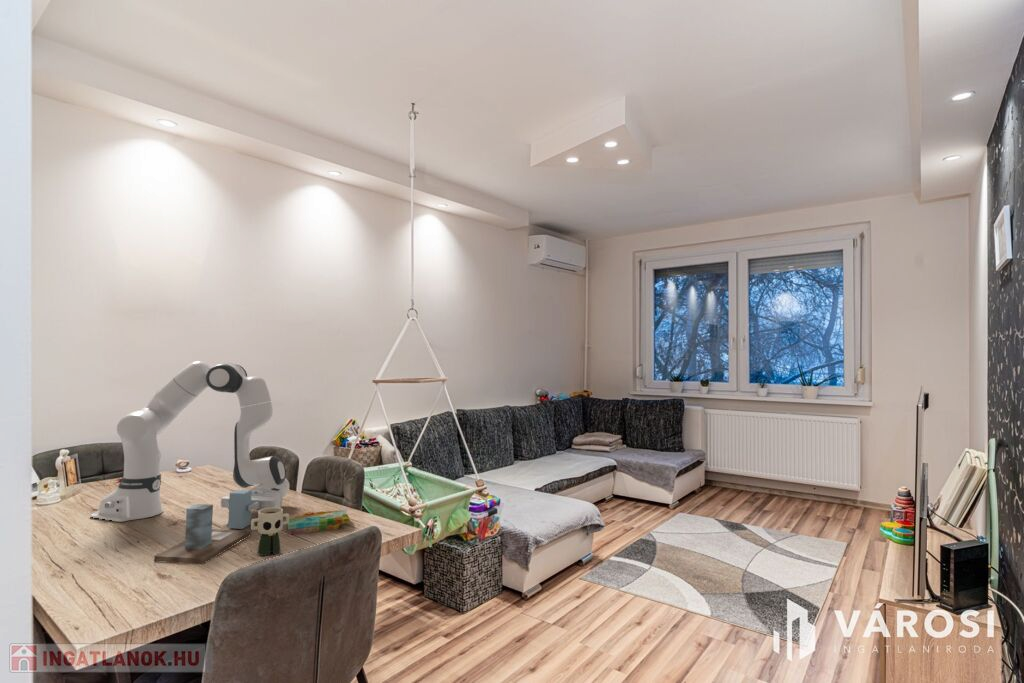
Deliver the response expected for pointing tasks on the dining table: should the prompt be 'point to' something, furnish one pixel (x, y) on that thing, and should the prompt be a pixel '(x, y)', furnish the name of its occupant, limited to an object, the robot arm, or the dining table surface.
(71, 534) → the dining table surface
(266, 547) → the character mug
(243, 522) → the pillar block
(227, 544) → the base board
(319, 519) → the puzzle game
